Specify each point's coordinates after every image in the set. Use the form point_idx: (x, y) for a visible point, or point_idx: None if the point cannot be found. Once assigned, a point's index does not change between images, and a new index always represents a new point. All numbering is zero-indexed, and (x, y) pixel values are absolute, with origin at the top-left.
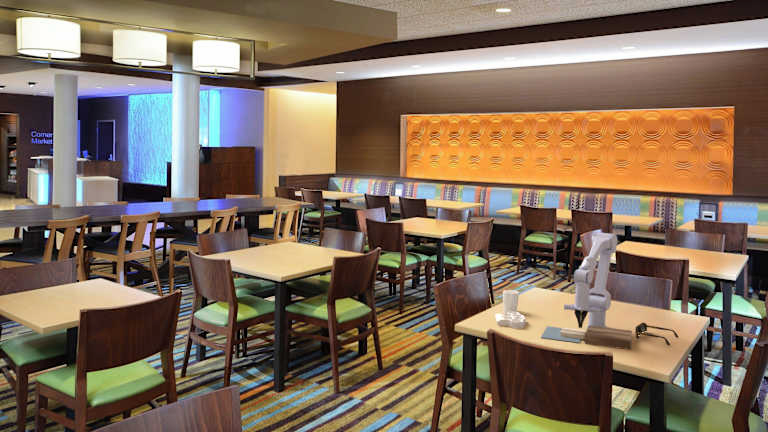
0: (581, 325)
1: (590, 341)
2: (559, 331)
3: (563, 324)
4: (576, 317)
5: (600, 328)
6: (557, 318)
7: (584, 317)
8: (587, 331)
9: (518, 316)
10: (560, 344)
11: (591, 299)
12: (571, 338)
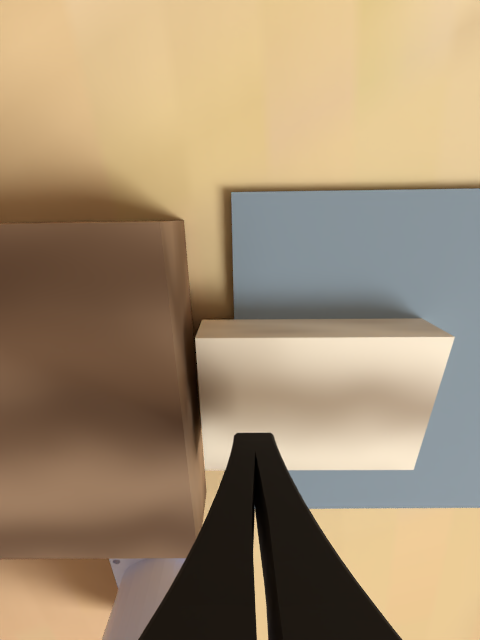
0: (239, 454)
1: (118, 221)
2: None
3: (368, 574)
4: (361, 589)
5: (83, 524)
6: None
7: (167, 621)
8: (168, 396)
9: None
10: (445, 23)
11: None
12: (319, 293)
